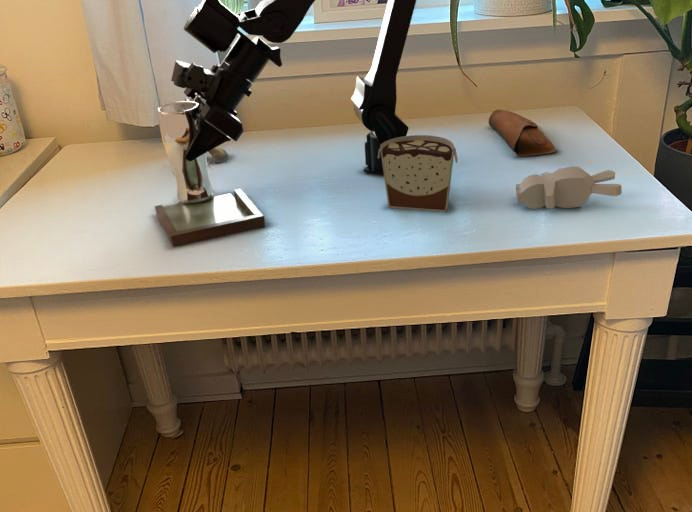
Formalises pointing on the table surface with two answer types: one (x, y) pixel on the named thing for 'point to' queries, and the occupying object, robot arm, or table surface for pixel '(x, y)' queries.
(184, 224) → the dock
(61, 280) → the table surface
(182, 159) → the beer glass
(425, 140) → the food container
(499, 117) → the sunglasses case
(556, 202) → the bunny figurine
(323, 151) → the table surface
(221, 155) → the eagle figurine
